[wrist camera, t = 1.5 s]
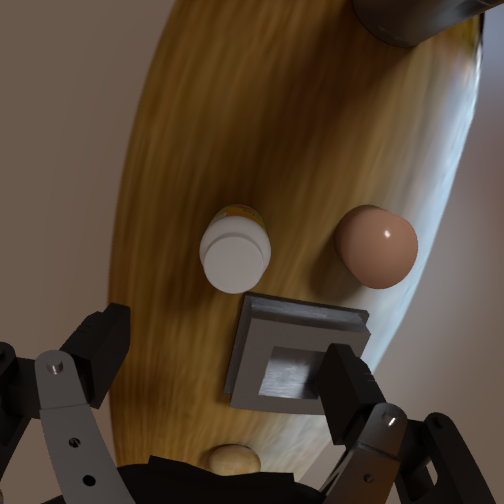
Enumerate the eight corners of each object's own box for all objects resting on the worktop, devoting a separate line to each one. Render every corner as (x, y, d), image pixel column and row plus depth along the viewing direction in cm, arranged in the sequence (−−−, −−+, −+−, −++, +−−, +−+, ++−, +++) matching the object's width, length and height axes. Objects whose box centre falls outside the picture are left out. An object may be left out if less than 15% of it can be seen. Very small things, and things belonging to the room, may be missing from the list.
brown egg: (344, 197, 28) (362, 205, 23) (402, 213, 29) (426, 224, 24) (326, 263, 30) (340, 282, 25) (383, 274, 31) (403, 293, 26)
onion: (245, 433, 38) (245, 471, 31) (268, 456, 40) (270, 490, 33) (200, 444, 39) (196, 480, 32) (226, 466, 41) (224, 499, 34)
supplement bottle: (276, 233, 29) (291, 269, 20) (235, 268, 30) (231, 317, 21) (239, 191, 28) (236, 208, 18) (198, 228, 29) (176, 263, 19)
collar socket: (245, 290, 31) (245, 309, 27) (366, 310, 32) (379, 328, 28) (223, 387, 35) (222, 410, 31) (327, 398, 36) (333, 418, 32)
